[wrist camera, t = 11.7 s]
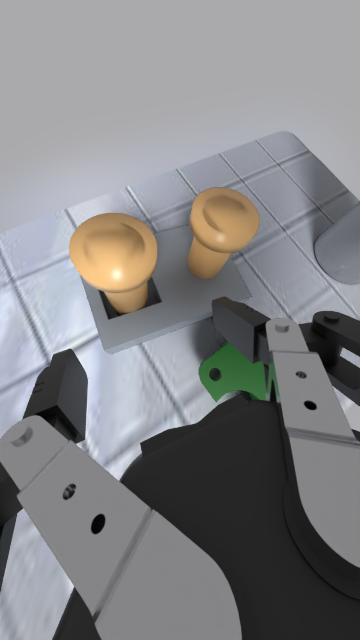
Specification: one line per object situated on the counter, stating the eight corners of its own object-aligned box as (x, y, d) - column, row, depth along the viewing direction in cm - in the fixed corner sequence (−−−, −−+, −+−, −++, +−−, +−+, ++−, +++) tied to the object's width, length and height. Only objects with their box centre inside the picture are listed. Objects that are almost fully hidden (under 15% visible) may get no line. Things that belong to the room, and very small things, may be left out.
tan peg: (145, 275, 24) (141, 205, 14) (162, 317, 22) (169, 271, 13) (99, 289, 22) (59, 222, 13) (114, 333, 21) (82, 296, 12)
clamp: (201, 375, 26) (182, 355, 18) (236, 348, 26) (233, 317, 18) (270, 473, 19) (287, 506, 12) (317, 436, 20) (362, 445, 12)
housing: (204, 236, 27) (233, 158, 18) (240, 305, 25) (295, 259, 15) (82, 268, 23) (34, 191, 14) (110, 354, 21) (75, 333, 11)
